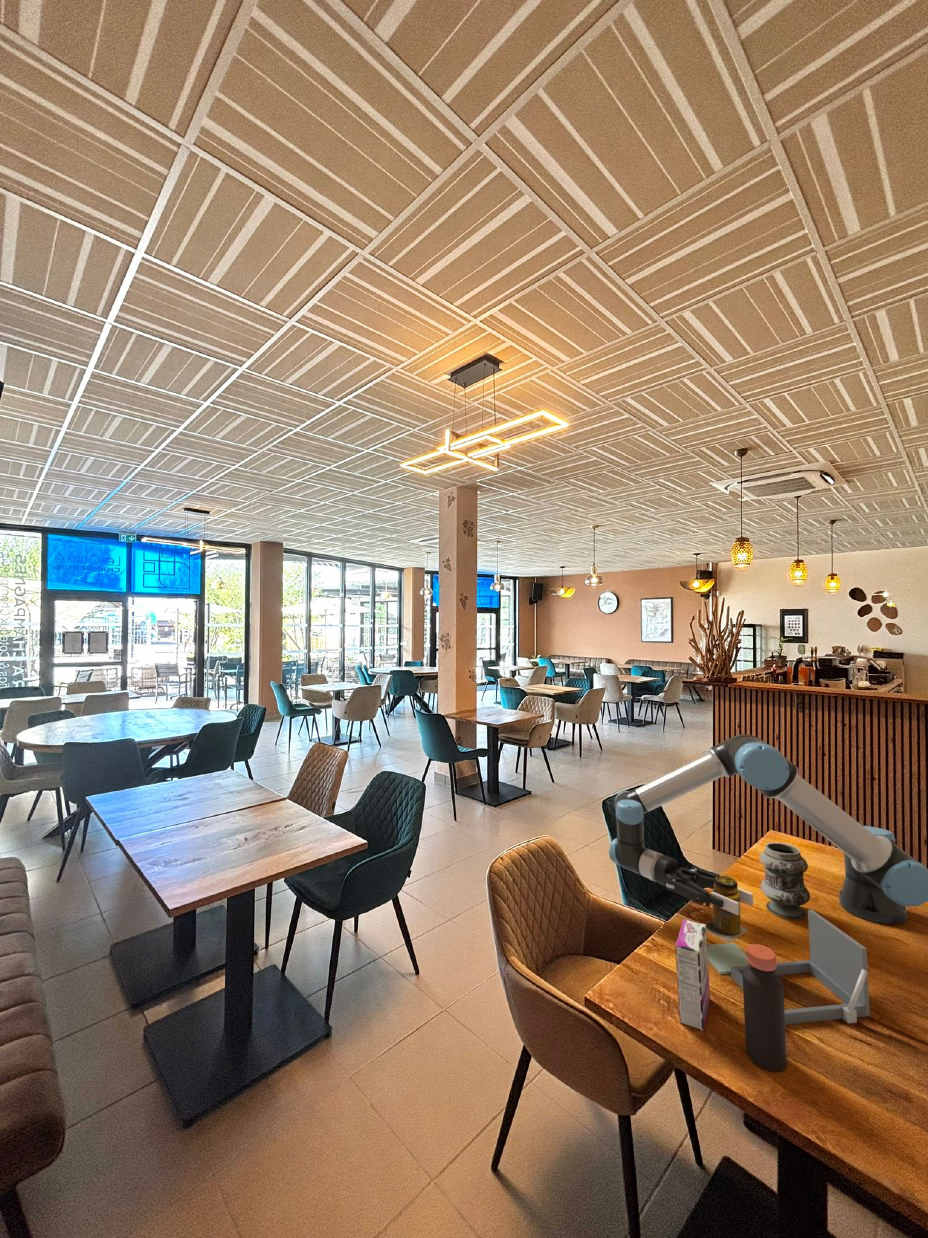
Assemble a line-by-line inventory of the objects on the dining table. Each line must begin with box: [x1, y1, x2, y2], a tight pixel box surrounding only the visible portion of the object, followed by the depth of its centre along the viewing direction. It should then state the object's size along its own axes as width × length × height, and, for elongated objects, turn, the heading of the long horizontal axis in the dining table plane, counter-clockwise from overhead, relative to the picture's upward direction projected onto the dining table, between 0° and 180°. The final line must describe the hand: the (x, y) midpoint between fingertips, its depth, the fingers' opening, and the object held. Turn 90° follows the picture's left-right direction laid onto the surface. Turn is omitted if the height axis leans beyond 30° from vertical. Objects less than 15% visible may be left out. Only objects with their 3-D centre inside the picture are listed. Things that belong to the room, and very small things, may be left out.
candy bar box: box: [675, 919, 711, 1032], centre depth 109 cm, size 11×5×16 cm, turn 148°
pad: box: [707, 942, 749, 975], centre depth 126 cm, size 10×10×1 cm
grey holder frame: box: [730, 909, 871, 1026], centre depth 112 cm, size 21×16×14 cm
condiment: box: [705, 875, 749, 943], centre depth 125 cm, size 7×8×12 cm
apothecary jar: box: [759, 841, 811, 921], centre depth 146 cm, size 12×12×18 cm
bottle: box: [742, 943, 788, 1072], centre depth 97 cm, size 7×7×20 cm
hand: (745, 904), depth 122 cm, fingers closed on condiment, 6 cm apart
